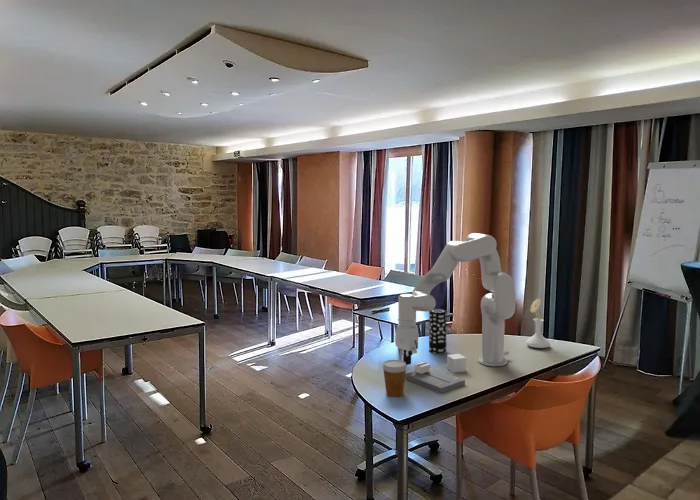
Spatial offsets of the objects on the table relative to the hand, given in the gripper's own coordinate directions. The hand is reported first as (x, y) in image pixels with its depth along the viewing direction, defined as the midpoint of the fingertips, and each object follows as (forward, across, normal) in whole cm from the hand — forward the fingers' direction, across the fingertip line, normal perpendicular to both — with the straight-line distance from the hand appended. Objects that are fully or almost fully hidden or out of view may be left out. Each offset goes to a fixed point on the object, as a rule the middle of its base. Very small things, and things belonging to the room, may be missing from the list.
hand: (407, 364), depth 218 cm
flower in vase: (+3, +16, +74) cm, 76 cm away
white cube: (+4, +12, +18) cm, 22 cm away
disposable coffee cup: (+3, +15, -21) cm, 26 cm away
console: (+3, +16, 0) cm, 16 cm away
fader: (+1, +9, 0) cm, 9 cm away
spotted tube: (+3, -11, +31) cm, 33 cm away
